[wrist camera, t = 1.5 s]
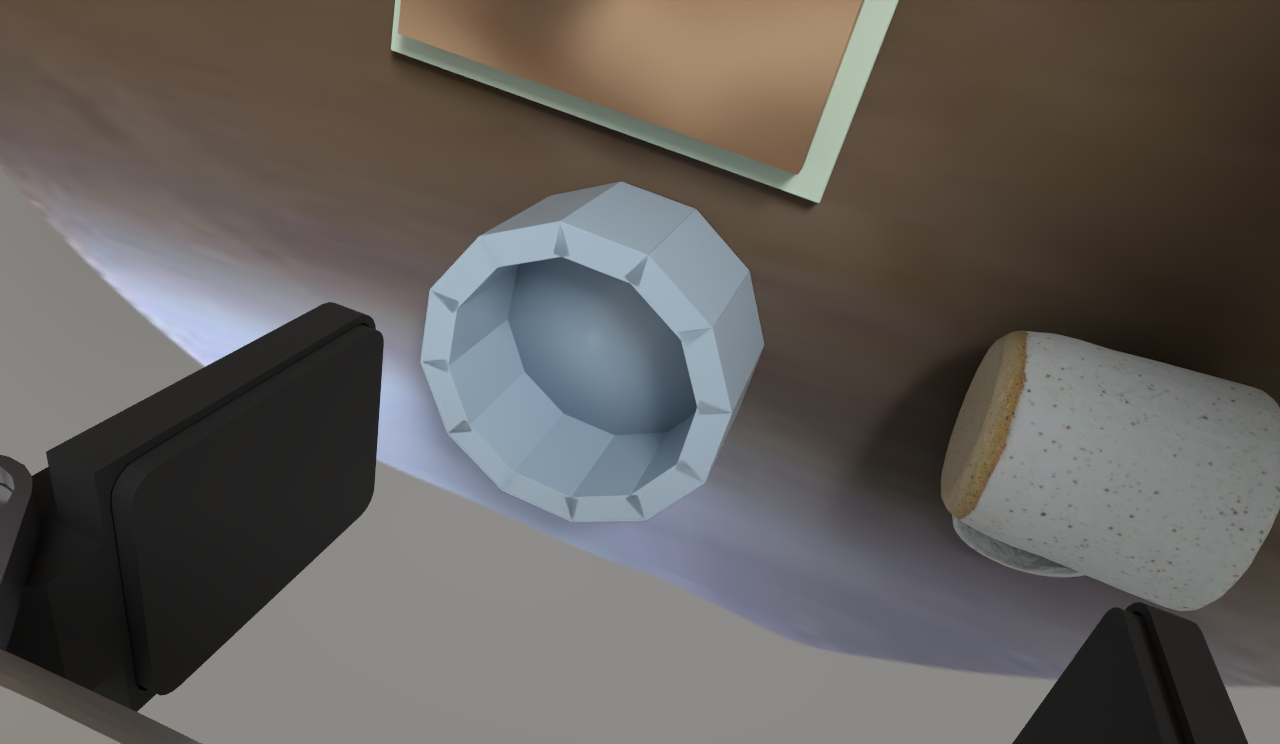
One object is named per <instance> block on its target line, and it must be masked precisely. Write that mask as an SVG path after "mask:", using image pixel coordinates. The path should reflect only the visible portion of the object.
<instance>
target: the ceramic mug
mask: <svg viewBox="0 0 1280 744" xmlns="http://www.w3.org/2000/svg"><path fill="white" fill-rule="evenodd" d="M941 497H942V500H943V502H944V504H945V507H946V509H947V510H948V511H949V512H950V513H951V514H952V519H953V526H954V529H955V531H956V532H957V534H958V535H959V536H960V538H961V539H962V540H963V541H964V542H965V543H966V544H967V545H968V546H969V547H971V548H972V549H974V550H975V551H977V552H978V553H980V554H982V555H983V556H985V557H987V558H989V559H991V560H993V561H995V562H998V563H1000V564H1002V565H1005V566H1007V567H1010V568H1013V569H1016V570H1019V571H1023V572H1027V573H1031V574H1035V575H1042V576H1049V577H1077V576H1085V575H1087V576H1089V577H1092V578H1094V579H1097V580H1099V581H1102V582H1104V583H1106V584H1109V585H1111V586H1113V587H1116V588H1118V589H1120V590H1123V591H1125V592H1128V593H1130V594H1133V595H1135V596H1138V597H1141V598H1143V599H1146V600H1148V601H1151V602H1153V603H1156V604H1158V605H1161V606H1163V607H1166V608H1170V609H1173V610H1177V611H1189V610H1197V609H1199V608H1202V607H1204V606H1206V605H1208V604H1210V603H1212V602H1214V601H1216V600H1217V599H1219V598H1220V597H1221V596H1223V595H1224V594H1225V593H1226V592H1227V590H1229V589H1230V588H1231V587H1232V586H1233V585H1234V584H1235V583H1236V582H1237V581H1238V580H1239V578H1240V577H1241V576H1242V575H1243V574H1244V573H1245V571H1246V570H1247V569H1248V567H1249V566H1250V565H1251V563H1252V562H1253V560H1254V558H1255V556H1256V554H1257V552H1258V551H1259V549H1260V547H1261V546H1262V544H1263V542H1264V540H1265V539H1266V537H1267V535H1268V534H1269V532H1270V530H1271V527H1272V525H1273V523H1274V521H1275V518H1276V516H1277V514H1278V511H1279V509H1280V407H1279V405H1278V404H1277V402H1276V401H1275V400H1274V399H1273V398H1271V397H1270V396H1269V395H1268V394H1266V393H1265V392H1264V391H1262V390H1259V389H1256V388H1254V387H1251V386H1247V385H1244V384H1240V383H1236V382H1232V381H1229V380H1225V379H1221V378H1218V377H1214V376H1210V375H1207V374H1203V373H1199V372H1196V371H1192V370H1188V369H1185V368H1181V367H1177V366H1174V365H1170V364H1166V363H1162V362H1159V361H1155V360H1151V359H1147V358H1143V357H1139V356H1135V355H1131V354H1127V353H1123V352H1119V351H1115V350H1111V349H1108V348H1105V347H1102V346H1098V345H1095V344H1092V343H1089V342H1085V341H1082V340H1079V339H1075V338H1071V337H1067V336H1062V335H1058V334H1053V333H1042V332H1032V331H1022V330H1020V331H1015V332H1011V333H1009V334H1007V335H1005V336H1003V337H1002V338H1000V339H998V340H996V342H995V343H994V344H993V345H992V346H991V347H990V348H989V350H988V352H987V353H986V355H985V356H984V358H983V360H982V362H981V364H980V366H979V367H978V369H977V371H976V373H975V376H974V378H973V380H972V382H971V384H970V387H969V389H968V391H967V394H966V396H965V399H964V401H963V404H962V407H961V409H960V412H959V414H958V417H957V420H956V423H955V426H954V429H953V432H952V435H951V438H950V441H949V445H948V449H947V452H946V456H945V461H944V465H943V469H942V476H941Z"/></svg>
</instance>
